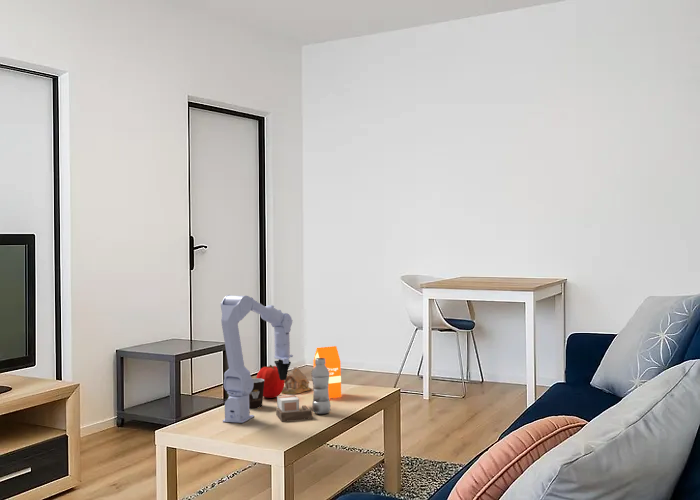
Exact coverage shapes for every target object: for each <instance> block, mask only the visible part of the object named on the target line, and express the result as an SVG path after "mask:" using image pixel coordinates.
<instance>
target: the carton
mask: <svg viewBox="0 0 700 500" xmlns="http://www.w3.org/2000/svg"><path fill="white" fill-rule="evenodd" d="M276 401H277V403H276V404H277V406H276V408H280V409H281V410H282V412H291V411H300V399H299V397H297V396H296V394H285V395H279V396H277V397H276Z"/></svg>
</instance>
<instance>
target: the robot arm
mask: <svg viewBox="0 0 700 500" xmlns="http://www.w3.org/2000/svg"><path fill="white" fill-rule="evenodd" d="M220 308H221V327H222V333H223V334H222V335H223V339H224V346H225V347H224V348H225V353H226V359H227V367H228V369H227V370H226V371H225V372H224V374H223V376H224V377H223V378H224V379H223V388H224V390H225V391H226V394H227V395H228V398H227V399H226V400H225V403H224V419H223V420H222V422H223V423H224V422H225V423H238V424H239V423H240V424H243V423H246V422H247V421H249V420H251V419H252V418H254V417H255V415H254V414H250V409H249V394H251V391H252V389H253V386H254V382H253V379H252V378H253V377H252V375H251V372H250V370H249V369H248V368H247V367H246V366H245V362H244V354H243V351H242V350H243V349H242V344H241V343H242V342H241V335H240V330H239V322H240V321H242V320H243V319H244V318H245V317H246V316H247V315H248V314H249V313H250V312H254V313H256V314H258V315H259V316H260V318H261V319H262V320H263V321H264V322H267V323H268V324H271V327H272V328H274V333H273V334H274V335H273V336H274V356H273V357H274V359H276V360H275V361H274V364H275V366H276V367H277V369H278V374H279V378H280V380H286V378H287V375H288V371H289V369H290V366H291V364H292V363H291V361H290V359H291V358H294V355H293V354H291V350H290V349H291V348H290V346H291V345H290V343H291V342H290V339H291V338H290V332H291V328H292V324H293V319H292V316H291V315H290V314H289V313H286V312H282V310H281V309H276V308H275V306H274V305H273V304H269V305H266V306H265V305H263V304H262V303H261V302H258V301H257V300H255V299H254V298H253V297H250V296H249V295H231V294H226V296H224V297H223V299H222V301H220Z"/></svg>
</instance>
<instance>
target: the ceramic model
mask: <svg viewBox="0 0 700 500" xmlns="http://www.w3.org/2000/svg"><path fill="white" fill-rule="evenodd" d="M309 384H310V381H309V379H308V378H307V377H306V375H305V374H304V373H303V372H302V371H301V369H300V368H299V367H297V366H295V367H293V369H292V370H290V371H289V373H287V378H286V380H284V388H283V390H282V392H281V394H283V395H297V394H300V393H304V392H307V391H311V390H312V388H311V387H310V386H309Z"/></svg>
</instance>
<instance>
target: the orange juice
mask: <svg viewBox="0 0 700 500" xmlns="http://www.w3.org/2000/svg"><path fill="white" fill-rule="evenodd" d="M316 358H325V362H326V364H325V366H326V367H327V369H328V370H329V383H328V393H329V399H338V398H342V373H341V371H342V368H341V365H342V363H341V359H340V354H339V352H338V348H337V346H336V345H334V346H333V345H332V346H322V347H316V351H315V354H314V357H313V360H312V363H313V368H314V367H315V366H316V364H315V359H316Z"/></svg>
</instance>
